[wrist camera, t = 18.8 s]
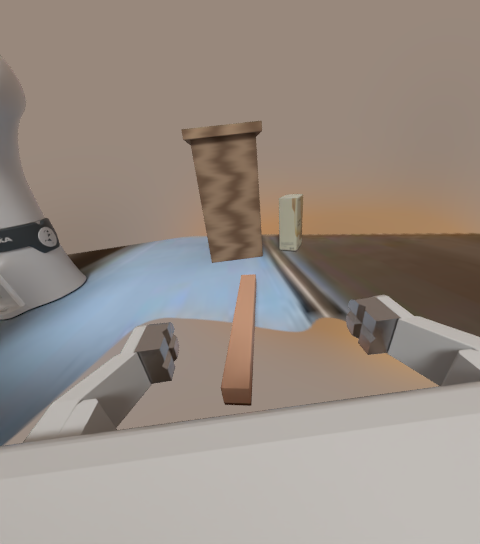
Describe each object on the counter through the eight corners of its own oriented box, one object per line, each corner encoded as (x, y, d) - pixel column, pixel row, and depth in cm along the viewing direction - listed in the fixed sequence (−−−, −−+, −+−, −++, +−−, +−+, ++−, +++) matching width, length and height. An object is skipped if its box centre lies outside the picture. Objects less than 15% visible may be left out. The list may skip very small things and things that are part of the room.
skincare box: (296, 251, 49) (298, 197, 43) (279, 250, 51) (278, 198, 45) (302, 242, 54) (303, 193, 49) (285, 241, 56) (285, 194, 50)
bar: (224, 404, 19) (220, 388, 18) (242, 287, 38) (241, 275, 37) (251, 405, 19) (249, 388, 18) (256, 286, 38) (255, 274, 36)
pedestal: (207, 264, 47) (181, 129, 36) (210, 247, 58) (190, 138, 46) (267, 257, 48) (261, 120, 36) (259, 241, 58) (252, 131, 47)
